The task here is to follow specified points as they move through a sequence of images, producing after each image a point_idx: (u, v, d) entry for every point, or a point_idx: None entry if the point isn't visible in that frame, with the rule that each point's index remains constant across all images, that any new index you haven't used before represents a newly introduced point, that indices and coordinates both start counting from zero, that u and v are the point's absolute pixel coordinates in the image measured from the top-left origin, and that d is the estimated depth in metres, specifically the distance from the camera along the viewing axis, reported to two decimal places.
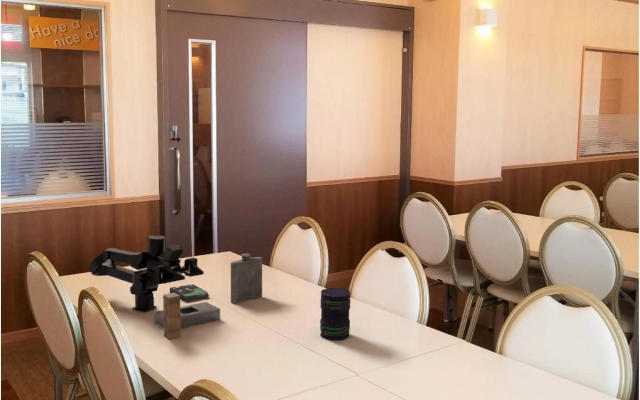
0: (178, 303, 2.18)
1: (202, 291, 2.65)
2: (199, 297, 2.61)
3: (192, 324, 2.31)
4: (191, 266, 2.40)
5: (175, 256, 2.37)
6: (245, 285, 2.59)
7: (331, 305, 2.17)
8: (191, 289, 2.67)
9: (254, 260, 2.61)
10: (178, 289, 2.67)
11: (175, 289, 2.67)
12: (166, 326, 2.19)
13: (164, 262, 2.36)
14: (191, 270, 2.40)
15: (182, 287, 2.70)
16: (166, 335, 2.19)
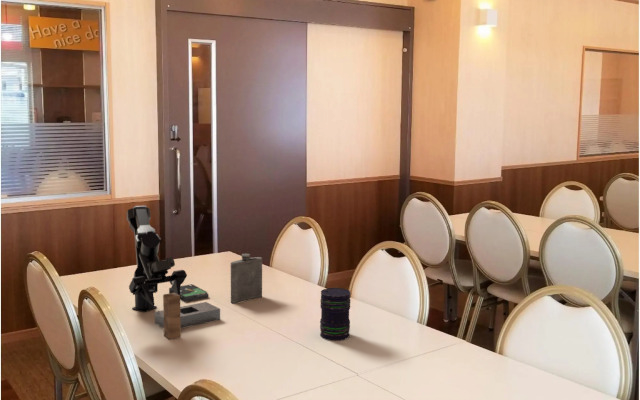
0: (178, 303, 2.18)
1: (202, 291, 2.65)
2: (199, 297, 2.61)
3: (192, 324, 2.31)
4: (175, 282, 2.27)
5: (162, 270, 2.23)
6: (245, 285, 2.59)
7: (331, 305, 2.17)
8: (190, 289, 2.67)
9: (254, 260, 2.61)
10: None
11: None
12: (166, 326, 2.19)
13: (149, 270, 2.23)
14: (174, 285, 2.28)
15: (181, 287, 2.70)
16: (166, 335, 2.19)
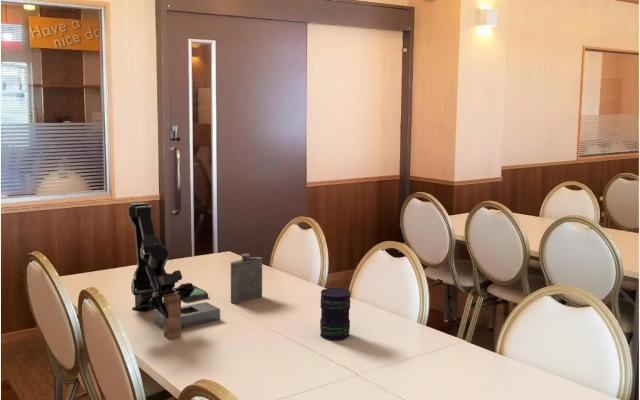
0: (178, 303, 2.18)
1: (201, 291, 2.65)
2: (198, 297, 2.61)
3: (192, 324, 2.31)
4: None
5: (169, 283, 2.20)
6: (245, 285, 2.59)
7: (331, 305, 2.17)
8: None
9: (254, 260, 2.61)
10: None
11: None
12: (166, 326, 2.19)
13: (156, 283, 2.20)
14: None
15: None
16: (166, 335, 2.19)
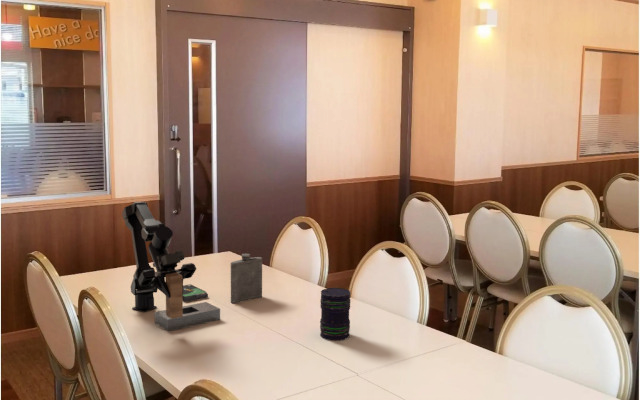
0: (180, 283, 2.20)
1: (201, 291, 2.65)
2: (198, 297, 2.61)
3: (192, 324, 2.31)
4: None
5: (172, 263, 2.21)
6: (245, 285, 2.59)
7: (331, 305, 2.17)
8: (189, 289, 2.67)
9: (254, 260, 2.61)
10: None
11: None
12: (168, 305, 2.21)
13: (159, 263, 2.22)
14: None
15: None
16: (168, 314, 2.21)
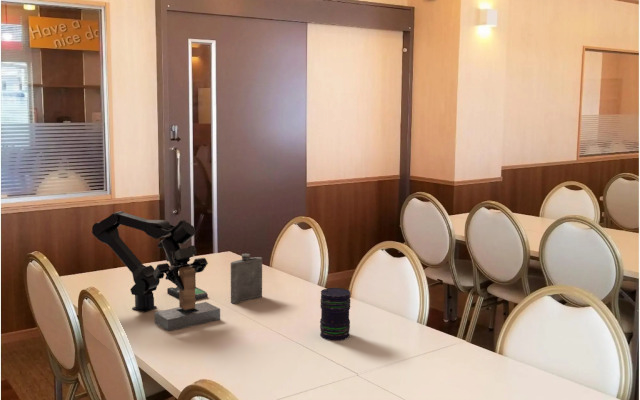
0: (193, 276, 2.32)
1: (201, 291, 2.65)
2: (198, 297, 2.61)
3: (192, 324, 2.31)
4: None
5: (185, 257, 2.34)
6: (245, 285, 2.59)
7: (331, 305, 2.17)
8: None
9: (254, 260, 2.61)
10: (176, 289, 2.66)
11: (173, 289, 2.66)
12: (181, 297, 2.33)
13: (172, 257, 2.34)
14: None
15: None
16: (181, 306, 2.33)
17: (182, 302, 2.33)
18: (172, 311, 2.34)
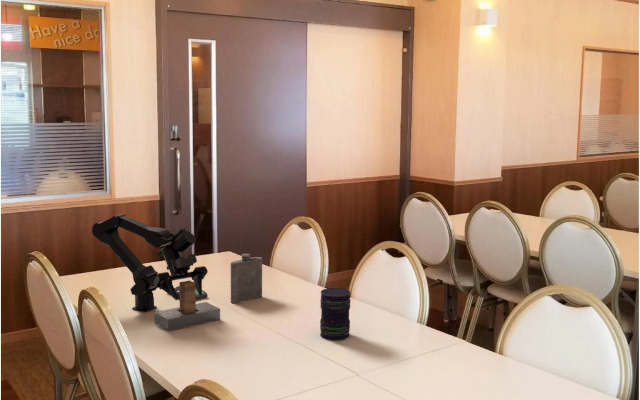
0: (193, 290, 2.33)
1: None
2: (198, 297, 2.61)
3: (192, 324, 2.31)
4: (197, 278, 2.38)
5: (185, 266, 2.34)
6: (245, 285, 2.59)
7: (331, 305, 2.17)
8: None
9: (254, 260, 2.61)
10: (176, 289, 2.66)
11: None
12: (182, 312, 2.34)
13: (172, 266, 2.34)
14: (195, 281, 2.39)
15: None
16: None
17: None
18: (172, 311, 2.34)
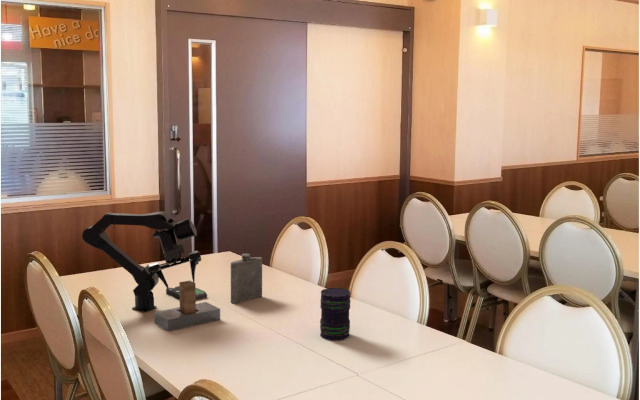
0: (193, 290, 2.33)
1: (200, 291, 2.65)
2: (198, 297, 2.61)
3: (192, 324, 2.31)
4: (190, 264, 2.42)
5: None
6: (245, 285, 2.59)
7: (331, 305, 2.17)
8: None
9: (254, 260, 2.61)
10: (175, 290, 2.66)
11: (172, 290, 2.66)
12: (182, 312, 2.34)
13: (164, 255, 2.40)
14: None
15: (178, 288, 2.69)
16: None
17: None
18: (172, 311, 2.34)
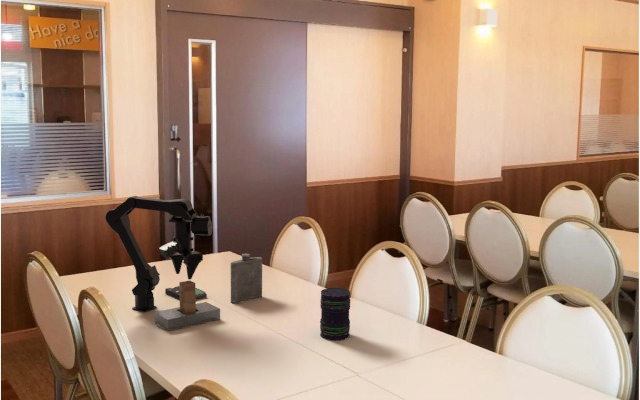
0: (193, 290, 2.33)
1: (199, 291, 2.65)
2: (197, 297, 2.61)
3: (192, 324, 2.31)
4: None
5: None
6: (245, 285, 2.59)
7: (331, 305, 2.17)
8: None
9: (254, 260, 2.61)
10: (174, 290, 2.66)
11: (171, 290, 2.66)
12: (182, 312, 2.34)
13: None
14: None
15: (178, 288, 2.69)
16: None
17: None
18: (172, 311, 2.34)
